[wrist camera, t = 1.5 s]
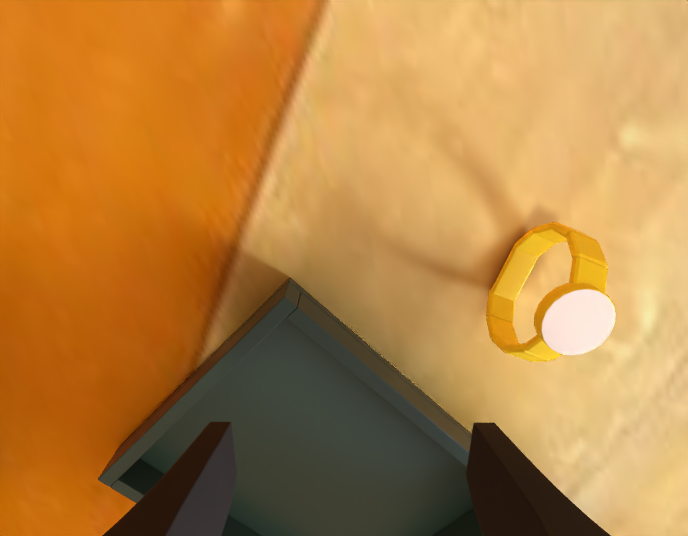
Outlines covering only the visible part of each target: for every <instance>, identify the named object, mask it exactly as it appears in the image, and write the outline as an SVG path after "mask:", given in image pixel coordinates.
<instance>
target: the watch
mask: <svg viewBox="0 0 688 536" xmlns="http://www.w3.org/2000/svg"><path fill="white" fill-rule="evenodd" d="M565 241H567V242H568V245H569V248H570V252H571V255H572V258H573V260H572V267H571V274H570V280H569V283H567V284H564V285H562V286H559V287H557V288H555V289H554V290H552V291H551V292H549V293H548V294H547V295H546V296H545V297H544V298H543V299H542V301H541V302H540V303H539V305H538V307H537V310H536V312H535V317H534V326H535V329H536V332H537V334H538V335H536V336H535V337H534V338H532V339H531V340H530V341H528V342H527V343H524V344H520V343H519V342H518V340H517V337H516V334H515V330H514V327H513V316H514V304H515V300H516V298H517V296H518V295H519V293H520V291H521V289H522V287H523V285H524V283H525V281H526V280H527V278H528V276H529V274H530V272H531V270H532V268H533V267H534V265H535V263H536V261H537V259H538V257H539V256H540V255H541V254H543V253H544V252H545V251H547V250H548V249H549V248H551V247H552V246H553V245H555V244H556V243H560V242H565ZM606 267H607V262H606V260H605V257H604V255H603V252H602V250H601V247H600V244H599V243H598V242H597V240H595V239H593V238H591V237H589V236H587V235H585V234H583V233H581V232H579V231H577V230H574V229H572V228H569V227H567V226H565V225H562V224H560V223H557V222H551V223H548V224H544V225H540V226H537V227H534V228H533V229H531V230H530V231H529V232H527V233H526V234H525V235H524V236H523V237H521V238H520V239H519V240H518V241H517V242H516V243H515V244H514V246H513V248H512V250H511V252H510V254H509V256H508V258H507V260H506V262H505V264H504V266H503V268H502V270H501V272H500V274H499V276H498V277H497V279H496V281H495V283H494V285H493V287H492V289H490V290H489V291H488V292H490V293H489V294H488V302H487V310H486V317H487V318H486V321H487V325H488V329H489V334H490V337H491V339H492V341H493V342H494V343H495V344H496V345H497V346H498V347H499V348H500V349H501V350H502V351H503V352H505V353H508V354H511V355H514V356H516V357H519V358H522V359H525V360H528V361H551V360H555V359H556V358H558V357H559V356H561V355H562V354H565V355H579V354H583V353H586V352H589V351H592V350H593V349H595V348H596V347H598V346H599V345H601V344H602V343H603V342H604V341H605V340H606V338H607V337H608V336H609V335H610V333H611V331H612V329H613V327H614V325H615V319H616V311H615V306H614V303H613V302H612V300H611V299H610V298H609V296H608V295H607V294H605V288H606V280H607V272H608V269H607V268H606Z"/></svg>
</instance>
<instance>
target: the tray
mask: <svg viewBox="0 0 688 536" xmlns="http://www.w3.org/2000/svg"><path fill="white" fill-rule="evenodd" d="M210 422H231V424H232V433H233V441H234V450H235V459H236V468H237V477H236V482H235V487H234V492H233V497H232V501H231V506H230V510H229V514H228V517H227V520H226V523H225V526H224V529H223V532H222V535H221V536H483V533H482V531H481V528H480V525H479V522H478V519H477V517H476V514H475V511H474V507H473V503H472V499H471V495H470V491H469V487H468V482H467V478H466V470H467V463H468V457H469V450H470V444H471V437H472V434H471V433H469V432H468V431H467V430H466V429H465V428H464V427H463V426H461V425H460V424H459V423H458V422H457V421H456V420H454V419H453V418H452V417H451V416H450V415H449V414H447V413H446V412H445V411H444V410H443V409H442V408H441V407H439V406H438V405H437V404H436V403H435V402H434V401H432V400H431V399H430V398H429V397H428V396H427V395H425V394H424V393H423V392H422V391H421V390H420V389H419V388H417V387H416V386H415V385H414V384H413V383H412V382H410V381H409V380H408V379H407V378H406V377H405V376H403V375H402V374H401V373H400V372H399V371H398V370H397V369H395V368H394V367H393V366H392V365H391V364H390V363H388V362H387V361H386V360H385V359H384V358H383V357H381V356H380V355H379V354H378V353H377V352H376V351H375V350H373V349H372V348H371V347H370V346H369V345H368V344H366V343H365V342H364V341H363V340H362V339H361V338H359V337H358V336H357V335H356V334H355V333H354V332H353V331H351V330H350V329H349V328H348V327H347V326H346V325H344V324H343V323H342V322H341V321H340V320H339V319H337V318H336V317H335V316H334V315H333V314H332V313H330V312H329V311H328V310H327V309H326V308H325V307H324V306H322V305H321V304H320V303H319V302H318V301H317V300H315V299H314V298H313V297H312V296H311V295H310V294H308V293H307V292H306V291H305V290H304V289H303V288H302V287H300V286H299V285H298V284H297V283H296V282H295V281H293V280H292V279H291V278H289V279H288V280H287V281H286V282H285V283H284V284H283V285H282V286H281V287H280V288H279V289H278V290H277V291H276V292H275V293H274V294H273V295H272V296H271V297H270V298H269V299H268V300H267V301H266V302H265V303H264V304H263V305H262V306H261V307H260V308H259V309H258V310H257V311H256V312H255V313H254V314H253V315H252V316H251V317H250V318H249V319H248V320H247V321H246V322H245V323H244V324H243V325H242V326H241V327H240V328H239V329H238V330H237V331H236V332H235V333H234V334H233V335H232V336H231V337H230V338H229V339H228V340H227V341H226V342H225V343H224V344H223V345H222V346H221V347H220V348H219V349H218V350H217V351H216V352H215V353H214V354H213V355H212V356H211V357H210V358H208V359H207V360H206V361H205V362H204V363H203V364H202V365H201V366H200V367H199V368H198V369H197V370H196V371H195V372H194V373H193V374H192V375H191V376H190V377H189V378H188V379H187V380H186V381H185V382H184V383H183V384H182V385H181V386H180V387H179V388H178V389H177V390H176V391H175V392H174V393H173V394H172V395H171V396H170V397H169V398H168V399H167V400H166V401H165V402H164V403H163V404H162V405H161V406H160V407H159V408H158V409H157V410H156V411H155V412H154V413H153V414H152V415H151V416H150V417H149V418H148V419H147V420H146V421H145V422H144V423H143V424H142V425H141V426H140V427H139V428H138V429H137V430H136V431H135V432H134V433H133V434H132V435H131V436H130V437H129V438H128V439H127V440H126V441H125V442H124V443H123V444H122V445H121V446H120V447H119V448H118V449H117V451H116V452H115V454H114V455H113V457H112V458H111V460H110V461H109V463H108V464H107V466H106V467H105V469H104V470H103V472H102V474H101V475H100V477H99V478H98V480H99V481H101V482H102V483H104V484H106V485H107V486H110V487H111V488H112V489H114V490H115V491H117V492H119V493H120V494H122V495H124V496H126V497H127V498H129V499H131V500H132V501H134V502H136V503H138V502H139V501H140V500H141V499H142V498H143V497H144V496H145V494H146V493H147V492H148V491H149V490H150V489H151V488H152V487H153V486H154V485H155V484H156V483H157V482H158V481H159V480H160V479H161V478H162V477H163V476H164V474H165V473H166V472H167V471H168V470H169V469H170V468H171V467H172V466H173V464H174V463H175V462H176V461H177V460H178V459H179V458H180V457H181V455H182V454H183V453H184V452H185V451H186V450H187V448H188V447H189V446H190V445H191V444H192V443H193V441H194V440H195V439H196V438H197V437H198V435H199V434H200V433H201V432H202V431H203V429H204V428H205V427H206V426H207V425H208V424H209V423H210Z"/></svg>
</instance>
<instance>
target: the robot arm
mask: <svg viewBox="0 0 688 536" xmlns="http://www.w3.org/2000/svg"><path fill="white" fill-rule="evenodd" d="M236 477H237V468H236V459H235V450H234V441H233V433H232V424H231V422H210V423H209V424H208V425H207V426H206V427H205V428H204V429H203V431H202V432H201V433H200V434H199V435H198V437H197V438H196V439H195V440H194V441H193V443H192V444H191V445H190V446H189V447H188V448H187V450H186V451H185V452H184V453H183V454H182V455H181V457H180V458H179V459H178V460H177V461H176V462H175V463H174V464H173V466H172V467H171V468H170V469H169V470H168V471H167V472H166V473H165V474H164V476H163V477H162V478H161V479H160V480H159V481H158V482H157V483H156V484H155V485H154V486H153V487H152V488H151V489H150V490H149V491H148V492H147V493H146V494H145V496H144V497H143V498H142V499H141V500H140V501H139V502H138V503H137V504H136V505H135V506H134V507H133V508H132V509H131V510H130V511H129V512H128V513H127V514H125V515H124V516H123V517H122V518H121V519H120V520H119V521H118V522H117V523H116V524H115V525H114V526H113V527H112V528H110V529H109V530H108V531H107V532H106V533H105V534H104V535H103V536H221V535H222V532H223V529H224V526H225V523H226V520H227V517H228V514H229V510H230V506H231V501H232V497H233V492H234V487H235V482H236ZM466 478H467V482H468V487H469V491H470V495H471V499H472V503H473V507H474V511H475V514H476V517H477V519H478V522H479V525H480V528H481V531H482V533H483V536H610V535H609V534H608V533H607V532H606V531H604V530H603V529H602V528H601V527H599V526H598V525H597V524H596V523H595V522H594V521H592V520H591V519H590V518H589V517H588V516H587V515H585V514H584V513H583V512H582V511H581V510H580V509H579V508H578V507H577V506H576V505H574V504H573V503H572V502H571V501H570V500H569V499H568V498H567V497H566V496H565V495H564V494H563V493H561V492H560V491H559V490H558V489H557V488H556V487H555V486H554V485H553V484H552V483H551V482H550V481H549V480H548V479H547V478H546V477H545V476H544V475H543V474H542V473H541V472H540V471H539V470H538V469H537V468H536V467H535V466H534V465H533V464H532V462H531V461H530V460H529V459H528V458H527V457H526V456H525V455H524V454H523V453H522V452H521V451H520V450H519V449H518V448H517V447H516V446H515V444H514V443H513V442H512V441H511V440H510V439H509V438H508V437H507V436H506V435H505V434H504V433H503V432H502V430H501V429H500V428H499V427H498V426H497V425H496V424H495V423H474V425H473V431H472V437H471V444H470V450H469V457H468V463H467V470H466Z"/></svg>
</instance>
